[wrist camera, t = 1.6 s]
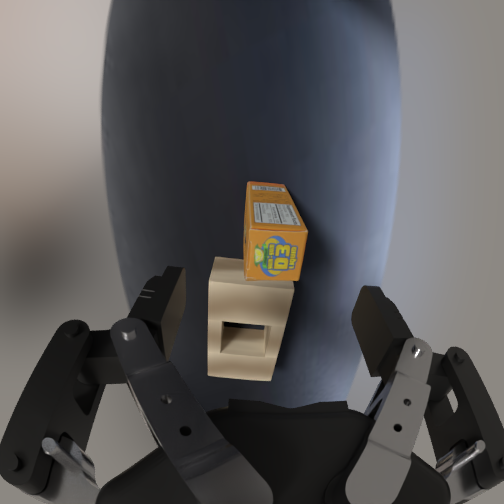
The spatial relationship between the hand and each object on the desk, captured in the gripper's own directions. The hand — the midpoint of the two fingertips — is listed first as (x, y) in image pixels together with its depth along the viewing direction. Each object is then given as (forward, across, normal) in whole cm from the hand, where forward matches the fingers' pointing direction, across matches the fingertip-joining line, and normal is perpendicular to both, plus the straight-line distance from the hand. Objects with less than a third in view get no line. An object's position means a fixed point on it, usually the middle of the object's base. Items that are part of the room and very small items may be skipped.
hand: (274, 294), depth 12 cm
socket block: (+13, 0, +12) cm, 18 cm away
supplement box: (+13, 0, 0) cm, 13 cm away
